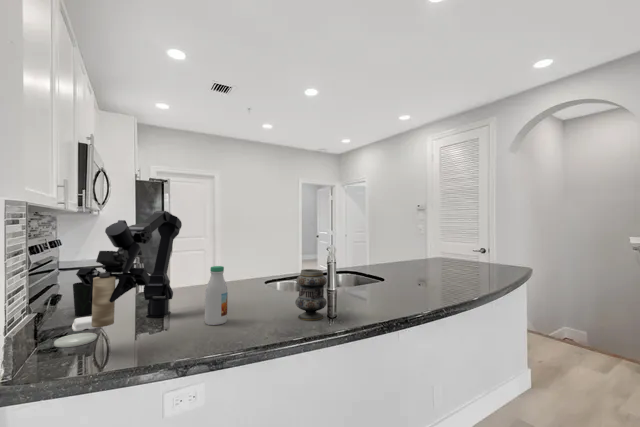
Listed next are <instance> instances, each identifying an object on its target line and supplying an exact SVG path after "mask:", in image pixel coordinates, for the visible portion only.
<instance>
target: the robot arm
mask: <svg viewBox="0 0 640 427" xmlns="http://www.w3.org/2000/svg"><path fill="white" fill-rule="evenodd" d="M182 226H183V225H182V220H181V219H180V218H179V217H178V216H176V215H174V214H172V213H170V212H169V211H167V210H156V211H153V213H152V214H151V215H150V216H149V217H147V218H146V219H144V220H143V221H142V222H140V223H136V224H131V225H128V223H127V222H126V220H124V219H123V220H122V219H119V220H117V222H114V223H112V224H110V225H109V226H107V227H106V228H105V232H104V233H105V234H106V237H107V238H108V240H109V241H110V242H111V244H112V246H113V247H115V248H117V250H99V252H98V255H97V258H96V261H95V262H96V263H97V264H98V263H99V264H101V265H102V266H101V268H102V269H103V270H105V271H100V270H98V269H97V268H96V267H95V266H94V267H92V266H91V267H80V268H79V269H78V270H77V272H76V274H75V275H76V276H77V278H78V279H79V280H80V281H81V282H83V284H84V285H87V286H90V295H89V302H92V299H93V278H96V277H99V275H100V273H110V276H115V277H116V279H115V281H118V283H117V284H116V285H115V290H114V292H113V294H112V295H111V298H110V302H114V301H117V299H118V300H119V298H120V297H122V296H123V295H124V294H127V292H129V291H131V290H133V289H135V288H137V286H138V287H140V286H141V287H142V286H143V295H144V300H145V301H148V303H147V310H146V311H147V314H146V315H145V317H146V318H164V317H166V316H168V315H169V314H170V313H171V311H169V306H170V304H169V302H170V300H172V299H173V296H174V291H173V289H172V287H171V285H170V283H171V281H170V279H169V277H168V270H169V264H170V261H171V260H170V259H171V253H172V249H173V243H174V240H175V239H176V238H177V236H179V234H180V230H181V229H182ZM156 230H157V232H158V234H159V236H160V238H159V244H158V249H157V253H156V256H155V257H156V258H155V262H154V265H153V266H154V268H153V272H152V273H151V274H150V275H149V273H148V271H147V269H146V268H145V267H135V264H134V262H135V260H136V259H137V257H138V256H142V255H143V252H142V248H141V246H140V244H141V245H142V244H144V245H145V244H148V243H149V241H150V240H151V239H152V238H153V233H154V231H156Z"/></svg>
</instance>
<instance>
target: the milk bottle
mask: <svg viewBox="0 0 640 427" xmlns="http://www.w3.org/2000/svg"><path fill="white" fill-rule="evenodd" d="M224 269H225V267H224V266H222V265H216V266H215V265H213V266H211V267H210V269H209V270H210V278H209V280H208V281H207V285H206V287H205V293H204V294H205V298H204V323H205V325H207V326H208V325H209V326H216V325H217V326H218V325H223V324H225V323H227V322H228V296H229V294H228V293H229V292H228V285H227V283H226V280H225V277H224V271H225V270H224Z"/></svg>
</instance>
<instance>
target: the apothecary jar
mask: <svg viewBox="0 0 640 427" xmlns="http://www.w3.org/2000/svg"><path fill="white" fill-rule="evenodd" d="M295 281H296V284H297V285H299V288H298V296H297V298H296V299H295V306H296V307H297V308H298V309H300V310H301V311H304V312H302V313H299V314H298V316H297V317H298V319H299V318H300V320H301V319H302V320H301V321H307V322H308V321H309V322H313V321H319V320H323V319H324V314H322V313H320V312H318V311H320V310H322V309H324V308H326V306H327V298H325V297H324V296H325V295H324V290H325V287H324V286H325V285H326V284H327V282H328V279H327V277H326V276H325V275H324V273H323V270H322V269H317V268H304V269H301V270H300V274H299V276H297V277H296V280H295Z"/></svg>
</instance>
